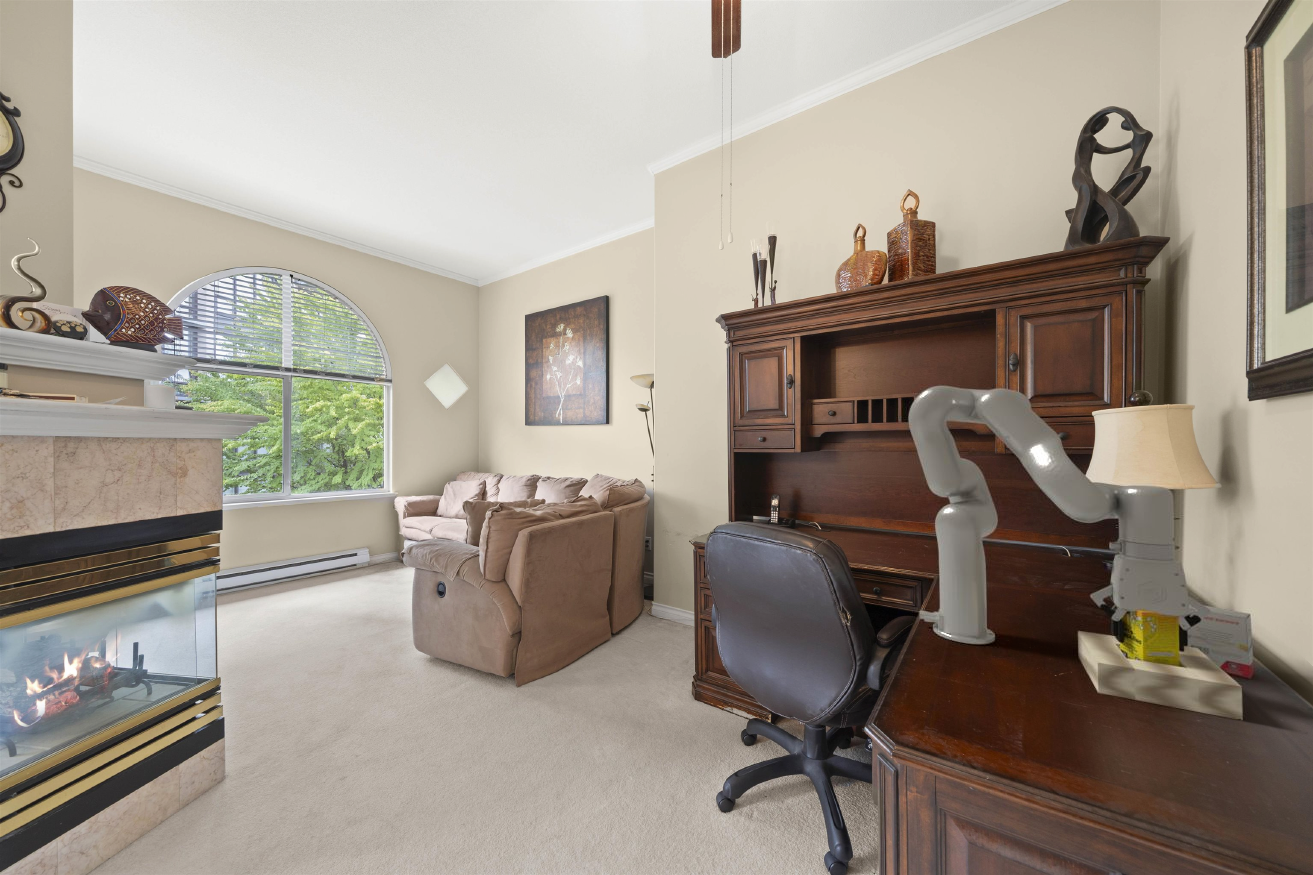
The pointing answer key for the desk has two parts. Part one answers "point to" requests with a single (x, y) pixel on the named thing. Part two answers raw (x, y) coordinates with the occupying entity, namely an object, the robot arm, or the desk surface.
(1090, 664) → the well block
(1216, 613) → the ink box
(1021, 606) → the desk surface
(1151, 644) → the supplement box
